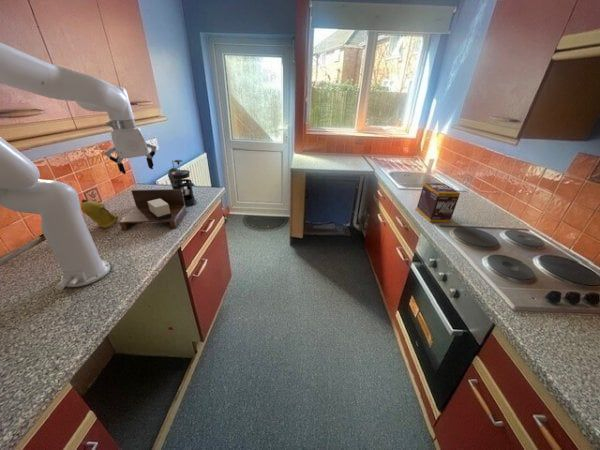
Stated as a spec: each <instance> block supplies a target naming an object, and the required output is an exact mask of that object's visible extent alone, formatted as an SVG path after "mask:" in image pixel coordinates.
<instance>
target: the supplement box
mask: <svg viewBox="0 0 600 450" xmlns="http://www.w3.org/2000/svg"><path fill="white" fill-rule="evenodd" d="M460 196H461V192H459V191H457V190H456V189H454V188H453V187H451V186H449V185H448V184H446V183H444V182H423V185H422V189H421V192H420V196H419V198H418V203H417V206H416V211H417V212H418V213H420V214H421V216H423V217H424V219H426V221H428V222H429V223H451V220H452V217H453V215H454V212H455V209H456V206H457V203H458V200H459V198H460Z"/></svg>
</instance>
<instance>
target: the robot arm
mask: <svg viewBox="0 0 600 450" xmlns="http://www.w3.org/2000/svg"><path fill="white" fill-rule="evenodd" d="M0 84H2V85H4V86H8V87H11V88H15V89H18V90H21V91H26V92H28V93H32V94H35V95H38V96H41V97H44V98H48V99H53V100H59V101H67V102H75V103H76V104H77V105H78V106H79V107H80V108H82V109H84V110H86V111H89V112H97V113H99V112H100V113H107V115H108V119H109V121H106V122H105V125H106V127H111V129H110V134H111V135H110V136H111V139H112V145H113V146H111V147H110V148H108V149H107V150H106V151H104V152H103V154H104V155H105V156H106V157H107V158H108V159H109V160H110V161H112V162H114V163H116V164H117V168H118V170H119V172H120V173H122V175H126V174H127V172H126V169H125V166H124V163H123V160H124V159H132V158H138V157H146V163H147V166H148V168H149V169H150V170H154V167H155V166H154V165H155V164H154V162H153V158H154V156H155V155H156V151H157V146H155V145H153V144H150V143H147V142H146V140H145V136H144V135H143V132H142V130H141V128H140V127H138V126H137V123H136V119H135V116H134V111H133V108H132V105H131V102H130V97H129V95H128V92H127V89H126V88H125V87H123V86H120V85H114V84H112V83H109V82H107V81H105V80H103V79H101V78H98V77H95V76H93V75H89V74H86V73H83V72H80V71H75V70H72V69H70V68H66V67H63V66H59V65H55V64H52V63H50V62H47V61H45V60H43V59H41V58H38V57H35V56H33V55H31V54H28V53H26V52H24V51H22V50H19V49H17V48H15V47H12V46H10V45H7V44H5V43H4V42H3V43H2V42H1V41H0ZM149 149H151V150H150V152H149ZM113 153H115V154H116V155H117V156H116V157H114V156H112V154H113ZM40 173H41V172H40V170H39V168H38V167H37V165H36V164H35V162H33V161H32V160H31V159H29V157H27V156H26V155H25V154H23V153H22V152H21V151H19V150H18V149H17V148H15V147H14V146H13V145H12V144H11V143H9V142H8V141H7V140H5V139H4V138H3V137H1V136H0V206H1V207H3V208H4V209H8V210H10V211H12V212H17V213H24V214H34V215H39V216H40V217H41V218H40V219H41V224H40V227H41V232H42V234H43V236H44V238H45V240H46V242H47V244H48V245H49V247H50V249H51V251H52V253H53V254H54V257H55V259H56V260H57V262H58V264H59V266H60V268H61V270H62V272H61V277H60V281H59V282H58V283H57V284H55V286H54V288H55V289H56V290H59V291H62V290H64V288H65V287H67V288H80V287H83V286H87V285H90V284H93V283H95V282H98V281H99V280H101V279H102V278H104V277H105V276H106V275H108V274H109V272H110V271H111V264H110V262H108V261H107V260H105V259H104V260H103V259H102V258H101V256H100V254H99V252H98V248H97V247H96V244H95V242H94V240H93V237H92V235H91V232H90V230H89V228H88V226H87V224H86V221H85V219H84V216H83V211H82V209H81V202H80V197H79V194H78V192H77V190H76V189H74V187H72V186H71V185H69V184H67V183H65V182H62V181H58V180H52V179H51V180H49V179H40V177H41V174H40Z"/></svg>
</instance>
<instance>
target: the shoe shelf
mask: <svg viewBox="0 0 600 450" xmlns="http://www.w3.org/2000/svg"><path fill="white" fill-rule="evenodd" d="M131 194H132V197H133V200H134V203H135V207H133V208H132V210H130V212H128V213H127V214H126V215H125V216H124V217H123V218H122V219H121V220H119V225H120V228H121V230H122V231H128V230H129V229H130V227H132V226H133V225H134V224H145V223H146V224H147V223H169V224H170V228H171V229H177V228H178V226H179V225H180V223H181V221H182V220H183V218H184V217H185V215H186V213H187V208H186V207H185V202H184V197H183V193H182V189H173V188H172V189H171V188H167V189H163V188H162V189H131ZM159 198H160V199H162V200H163V201H165V202H166V203H168V205H169V209H170V213H171V215H172V217H169V218H166V219H162V220H158V219H157V218H156V217H154V216H153V215H152V214H151V213H149V211H148V209H149V206H148V202H147V201H151V200H155V199H159Z"/></svg>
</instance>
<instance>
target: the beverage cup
mask: <svg viewBox="0 0 600 450" xmlns="http://www.w3.org/2000/svg"><path fill="white" fill-rule="evenodd" d="M173 161H174V160H171V162H172V167H171V168H170V169H169V170H168V171H167V177H168V179H169V182H170V184H171V187H172V189H174V188H173V181H175V180H179V179H174V178H172V175H171V172H173V171H177V170H179V168H177V167H175V162H173ZM176 184H178V185H181V184H182V182H178V183H176ZM179 188H180V189H182V190H183V187H179Z"/></svg>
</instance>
